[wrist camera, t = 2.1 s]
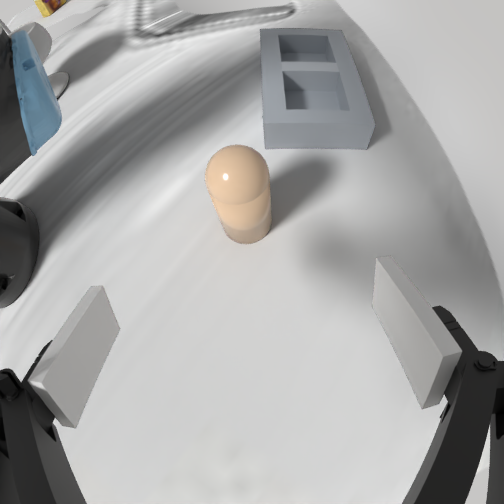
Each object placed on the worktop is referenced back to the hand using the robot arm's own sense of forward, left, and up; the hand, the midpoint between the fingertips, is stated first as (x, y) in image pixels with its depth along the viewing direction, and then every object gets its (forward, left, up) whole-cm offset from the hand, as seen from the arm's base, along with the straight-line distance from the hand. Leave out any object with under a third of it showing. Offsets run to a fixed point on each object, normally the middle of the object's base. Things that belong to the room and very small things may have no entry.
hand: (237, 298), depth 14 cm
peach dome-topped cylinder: (-1, +11, -15) cm, 19 cm away
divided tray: (+7, +30, -15) cm, 34 cm away
